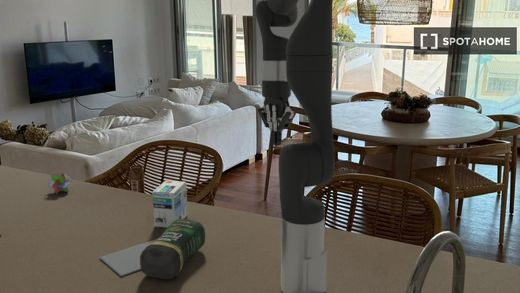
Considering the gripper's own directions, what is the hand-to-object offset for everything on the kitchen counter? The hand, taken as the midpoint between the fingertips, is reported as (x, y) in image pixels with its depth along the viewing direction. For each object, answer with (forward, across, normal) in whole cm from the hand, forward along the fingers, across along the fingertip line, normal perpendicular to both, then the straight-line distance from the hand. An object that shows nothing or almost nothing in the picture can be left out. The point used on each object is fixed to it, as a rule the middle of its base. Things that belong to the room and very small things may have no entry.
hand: (276, 144), depth 133 cm
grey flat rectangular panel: (+26, -13, -33) cm, 44 cm away
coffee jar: (+22, -10, -21) cm, 32 cm away
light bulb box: (+25, -29, -16) cm, 41 cm away
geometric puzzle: (+23, -74, -33) cm, 84 cm away
